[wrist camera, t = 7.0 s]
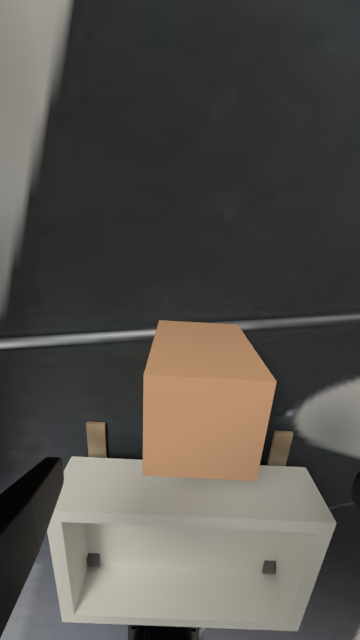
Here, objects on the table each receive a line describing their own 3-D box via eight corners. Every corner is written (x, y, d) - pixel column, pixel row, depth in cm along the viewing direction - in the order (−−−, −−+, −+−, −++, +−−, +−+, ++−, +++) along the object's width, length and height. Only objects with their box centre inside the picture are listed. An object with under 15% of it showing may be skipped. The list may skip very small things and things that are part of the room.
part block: (228, 391, 15) (256, 480, 10) (157, 388, 15) (142, 475, 9) (237, 324, 14) (276, 381, 8) (159, 320, 14) (143, 374, 8)
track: (254, 588, 21) (255, 591, 21) (99, 581, 21) (98, 584, 21) (292, 431, 16) (293, 433, 16) (87, 421, 16) (86, 423, 16)
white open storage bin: (274, 553, 19) (297, 631, 15) (86, 545, 19) (62, 621, 15) (299, 456, 16) (336, 523, 12) (76, 446, 16) (43, 510, 12)
